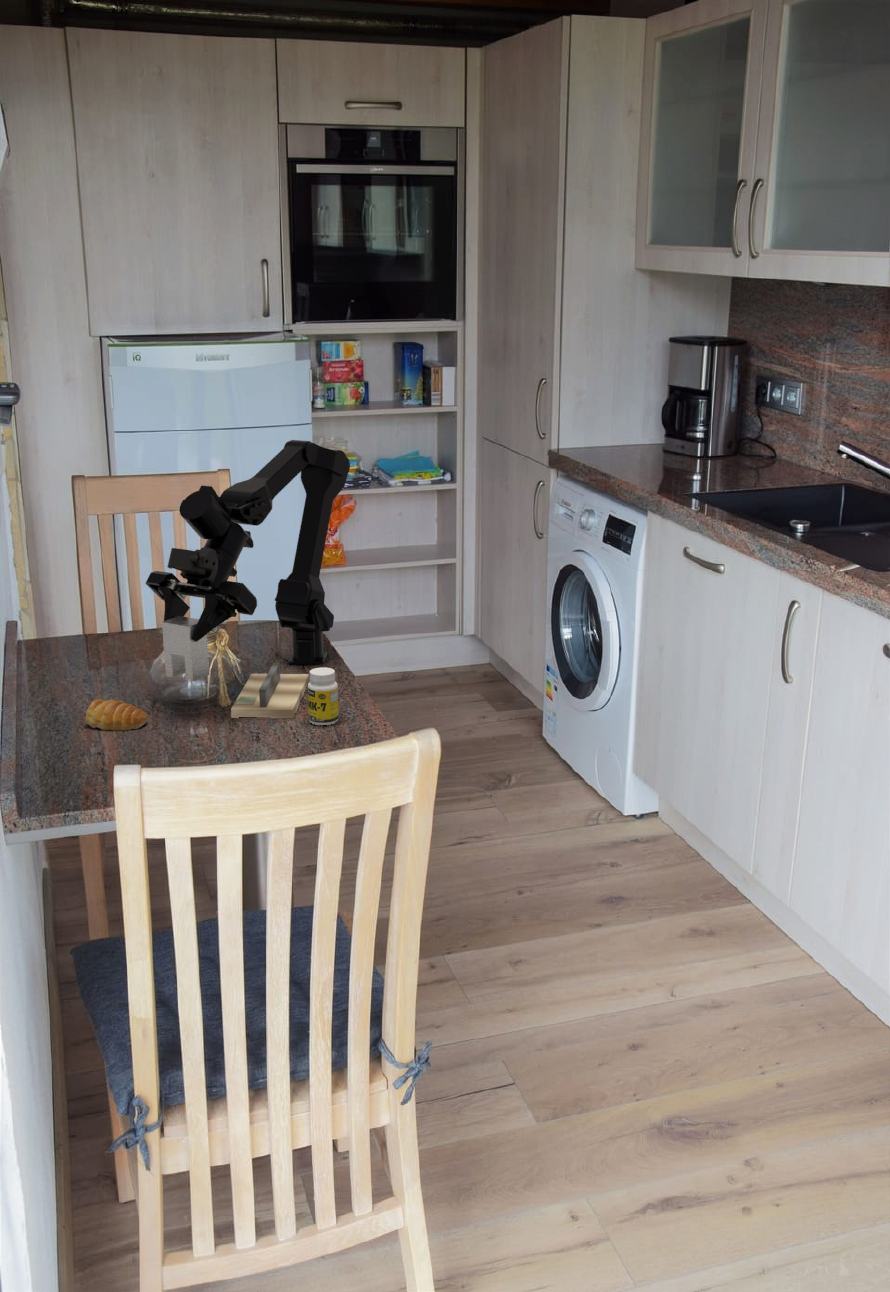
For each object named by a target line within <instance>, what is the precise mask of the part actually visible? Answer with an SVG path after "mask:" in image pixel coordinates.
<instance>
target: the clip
mask: <svg viewBox="0 0 890 1292" xmlns="http://www.w3.org/2000/svg"><path fill="white" fill-rule="evenodd" d="M199 619H200V618H194V617H187V616H184V617H182V616H177V617H175V618H172V619H169V620H166V621H164V620H163V621H162V622H161V629H162V641H163V652H164V653H163V654H164V667H165V676H166V677H168V678H173V679H174V678H175V677H178V676H181V675H183V674H185V681H189V682H195V681H197V680H200V679H202V678H205V677H206V676H209V675H210V663H209V648H208V647H209V646H208V634H206V635H205V636H204V637H203V638H201V639H200V640H199V641H197V642H194V641H193V640H192V635H193V632H194V630H195V627H196V625H197V623H198V621H199Z"/></svg>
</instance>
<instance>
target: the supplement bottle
mask: <svg viewBox="0 0 890 1292" xmlns="http://www.w3.org/2000/svg"><path fill="white" fill-rule="evenodd" d="M307 707H308V709H307V710H308V711H307V712H308V722H309V723H310V724H311V723H312V725H314V724H315V725H314V726H320V725H321V726H320V727H322V725H327V726H331V724H332V725H334V724H336V723H337V722H338V721H339V686H338V683H337V681H336V671H335V669H333V668H330V667H316V668H312V669H311V670H309V683H308V686H307Z"/></svg>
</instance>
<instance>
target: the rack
mask: <svg viewBox="0 0 890 1292" xmlns="http://www.w3.org/2000/svg"><path fill="white" fill-rule="evenodd" d="M280 668H281V666H280V662H273V663H272V665H271V668H269V671H268V673H251V674H250V676H249V678H248V680H247V681H246V683H245V684H244V686H243V688H242V690H241V691H240V693H239V695H238V696H237V698H236V700H235V701H234V703H233V704H232V706H231V709H230V717H231V719H240V718H239V717H271V718H270V719H294V718H295V717H296V714H295V713H297V712H298V709H299V707H298V706H300V704H301V702H302V700H301V699H303V698H304V695H305V693H306V691H305V690H307V688H308V686H307V685H308V683H309V682H310V679H309V677H310V673H281V669H280ZM306 687H307V688H306ZM304 692H305V693H304ZM302 697H303V698H302ZM300 701H301V702H300Z"/></svg>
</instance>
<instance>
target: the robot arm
mask: <svg viewBox="0 0 890 1292" xmlns="http://www.w3.org/2000/svg"><path fill="white" fill-rule="evenodd" d="M350 467H351V462H350V459H349V458H348V457H347V455H346V452H345V451H343V450H341V449H330V448H327V447H325V446H324V447H323V446H321V445H319V444H317V443H315V442H312V441H311V440H300V439H299V440H298V439H297V440H296V439H291V440H288V441H287V442H285V444H284V446H283V448H282V449H281V450H280V451H279V452H278V453H277V454H276V455H274V456H273V458H272V459H270V460H269V461H268V463H266V464H265V465H264V466H263V467H262V468H261V469H260V470H258V472H257V473H256V474H255V475H253V476H252V477H251V478H248V479H246V480H242V481H240V482H237V483H234V484H233V485H231V486H229V487H228V488H225V489H224V490H223V492H222V493H221V495H220V496H219V494H217V492H216V489H214V487H213V486H212V485H200V487H199V489H198V490H197V491H194V492H192V493H190V494H189V495H188V496H186V497H185V499H182V500H181V502H180V504H179V515H180V516H181V518H182V519H184V520H185V522H186V523H187V524H188V525H189V526H190V527H191V528H192V530H194V532H195V534H197V536H198V537H200V538H201V539H203V540H206V542H205V544H204V546H203V547H200V549H195V550H190V549H184V548H178V547H177V548H176V547H171V550H170V553H169V554H170V555H169V557H168V562H167V566H166V567H167V569H173V570H174V569H175V570H177V571H180V573H179V575H180V576H181V577H182V578H183V580H184V579H186V582H181V580H180V579H178V577H176V575H174V573H172V572H166V571H160V570H155V571H151V572H150V574H149V575H148V578H147V579H146V581H145V583H144V584H145V585H146V586H148V588H149V589H150V590H151V591H152V592H153V593H155V595H156V596H158V598H160V600H162V601H163V602H164V615H163V622H164V621H166V620H169V619H172V618H175V617H177V616H182V617H185V616H186V614H187V613H188V611H189V610H190V609H191V607H190V606H189V605H188V604H187V603H186V602H185V599H186V597H187V596H188V597H194V598H203V599H204V608H203V610H202V612H201V615H200V616H199V618H198V619H199V621H198V623H197V625H196V627H195V630H194V632H193V635H192V640H193V641H194V642H197V641H199V640H200V639H201V638H203V637H204V636H205V635H206V634H207V635H208V634H210V632H211V631H213V630H214V629H216V628H217V627H218V626H220V625H221V624H223V623H224V622H226V621H228V620H229V619H230V618H235V617H237V615H238V614H241V615H246V616H253V615H254V613H255V611H256V610H257V609H256V608H257V607H258V600H257V597H256V595H254V594H253V593H252V591H251V590H250V589H249V588H248V587H247V586H246V584H244V583H243V582H236V581H232V580H231V581H230V580H229V579H230V577H235V578H236V576H237V573H238V571H237V570H236V568H235V565H236V563H237V561H238V559H239V558H240V555H241V553H242V551H243V549H244V548H248V549H250V548H251V549H253V548H254V546H255V545H254V540H253V539H252V536H251V535H252V534H251V531H248V530H245V529H244V528H243V527H242V526H241V525H248V526H256V527H257V526H260V525H261V524H262V523H263V522H265V520H266V519H267V517H268V516H269V514H270V513H271V511H272V510H273V501H274V499H275V497H276V496H277V495H278V494H279V493H281V491H283V490H284V489H285V488H286V486H288V485H289V484H290V483H291V482H292V481H293V480H294V479H295V478H296V477H297V476H298V475H299V474H300V481H301V484H302V486H303V489H304V493H305V500H304V505H303V506H304V507H303V510H302V516H301V522H300V527H299V531H298V532H299V533H298V538H297V543H296V544H297V545H296V549H295V554H294V555H295V556H294V560H293V565H292V569H291V570H292V571H291V573H290V574H289V575H287V576H288V577H286V578H285V579H284V578H281V579H279V580H278V583H277V593H276V596H275V598H274V601H275V606H274V607H275V611H276V614H277V619H278V622H279V626H280V627H281V628H286V629H287V628H288V629H290V631H291V632H290V633H291V652H292V653H290V654H291V655H290V656H289V658H288V660H287V662H288V663H287V664H289V665H323V664H324V663H325V660H326V658H327V656H328V651H326V650H324V635H323V632H330V631H331V628H333V626H334V621H335V620H334V619H335V615H334V614H333V613H332V612H331V610H330V609H329V607H328V606H327V605H326V604H325V598H326V593H325V590H324V587H323V584H322V582H321V579H320V575H321V568H322V564H323V558H324V551H325V548H326V542H327V537H328V536H327V535H328V532H329V531H328V530H329V525H330V519H331V514H332V508H333V503H334V500H335V498H336V497H337V496H338V495H339V493H340V492H341V491H342V490H343V489H344V488H345V486H346V483H347V482H346V481H347V479H348V475H349V473H350Z"/></svg>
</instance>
